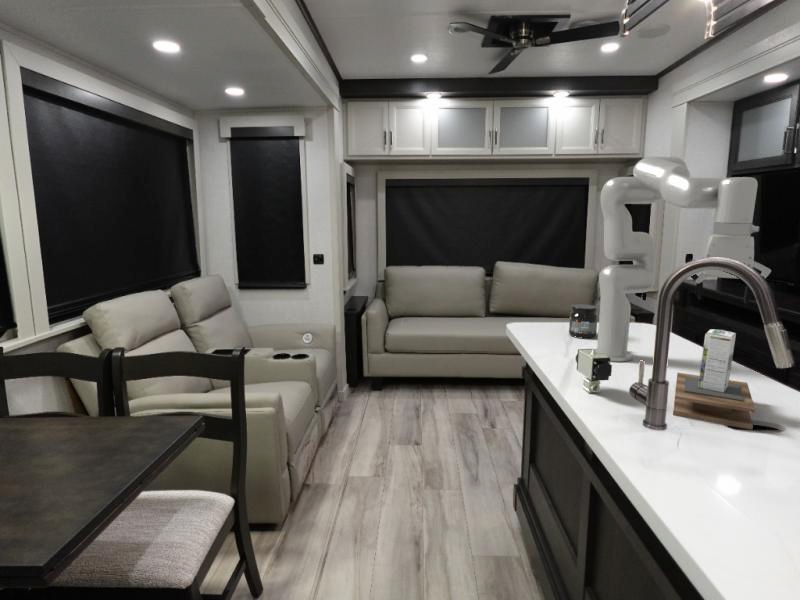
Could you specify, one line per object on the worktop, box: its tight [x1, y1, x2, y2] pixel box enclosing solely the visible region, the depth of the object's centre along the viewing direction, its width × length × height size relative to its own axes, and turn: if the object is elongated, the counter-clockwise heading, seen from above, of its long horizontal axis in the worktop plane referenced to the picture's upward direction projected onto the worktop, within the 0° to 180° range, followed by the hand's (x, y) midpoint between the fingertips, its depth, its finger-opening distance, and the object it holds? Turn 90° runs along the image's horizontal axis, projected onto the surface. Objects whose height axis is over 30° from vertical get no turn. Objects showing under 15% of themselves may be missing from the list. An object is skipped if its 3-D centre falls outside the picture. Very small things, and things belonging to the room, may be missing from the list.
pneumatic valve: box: [575, 348, 613, 394], centre depth 134 cm, size 6×12×12 cm, turn 7°
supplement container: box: [568, 303, 599, 339], centre depth 193 cm, size 10×10×12 cm
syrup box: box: [698, 328, 737, 393], centre depth 121 cm, size 6×6×14 cm
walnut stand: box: [672, 371, 756, 431], centre depth 123 cm, size 20×16×5 cm
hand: (722, 300), depth 119 cm, fingers open, 9 cm apart
